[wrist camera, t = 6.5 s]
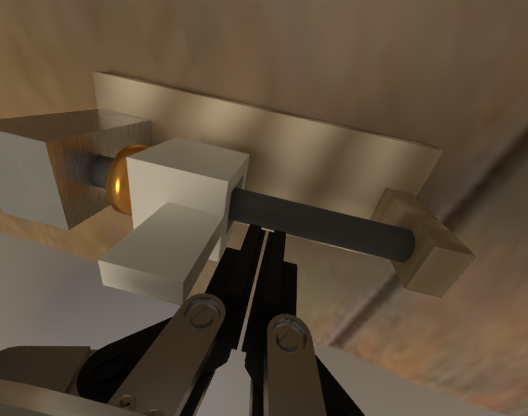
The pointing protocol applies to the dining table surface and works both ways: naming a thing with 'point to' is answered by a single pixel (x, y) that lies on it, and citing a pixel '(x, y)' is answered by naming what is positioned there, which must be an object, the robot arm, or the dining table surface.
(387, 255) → the dark grey rod
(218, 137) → the beige rod holder
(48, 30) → the dining table surface
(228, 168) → the sleeve
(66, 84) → the dining table surface
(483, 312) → the dining table surface
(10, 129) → the connector
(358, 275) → the dining table surface
